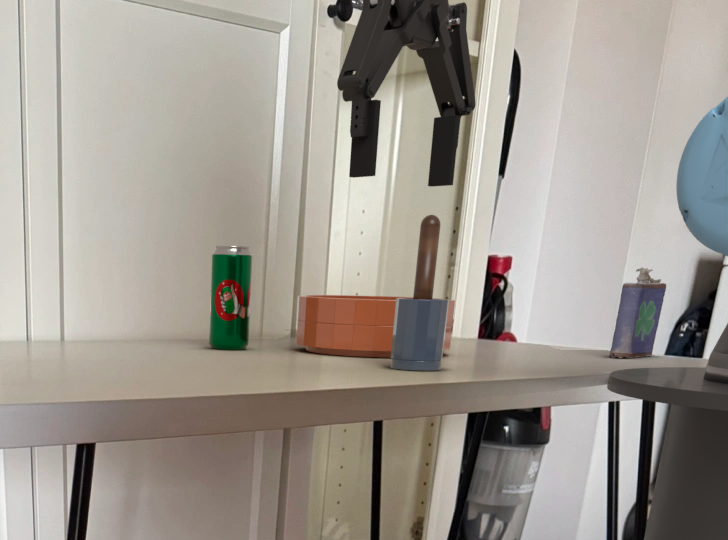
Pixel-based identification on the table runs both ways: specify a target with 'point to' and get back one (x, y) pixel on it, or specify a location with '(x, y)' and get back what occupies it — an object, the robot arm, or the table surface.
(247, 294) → the soda can
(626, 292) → the flask
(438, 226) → the stirring stick
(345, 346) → the bowl
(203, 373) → the table surface
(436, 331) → the crock
